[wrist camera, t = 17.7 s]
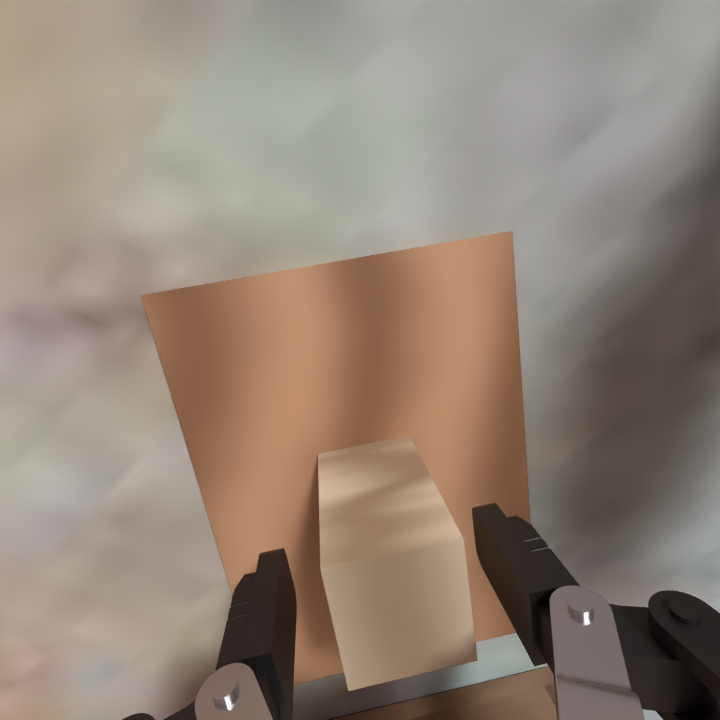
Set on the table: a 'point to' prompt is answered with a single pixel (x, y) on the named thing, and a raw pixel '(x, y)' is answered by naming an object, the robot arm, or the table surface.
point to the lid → (359, 443)
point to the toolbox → (479, 701)
